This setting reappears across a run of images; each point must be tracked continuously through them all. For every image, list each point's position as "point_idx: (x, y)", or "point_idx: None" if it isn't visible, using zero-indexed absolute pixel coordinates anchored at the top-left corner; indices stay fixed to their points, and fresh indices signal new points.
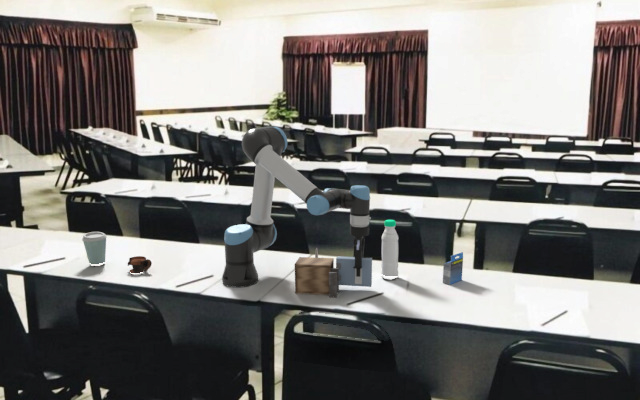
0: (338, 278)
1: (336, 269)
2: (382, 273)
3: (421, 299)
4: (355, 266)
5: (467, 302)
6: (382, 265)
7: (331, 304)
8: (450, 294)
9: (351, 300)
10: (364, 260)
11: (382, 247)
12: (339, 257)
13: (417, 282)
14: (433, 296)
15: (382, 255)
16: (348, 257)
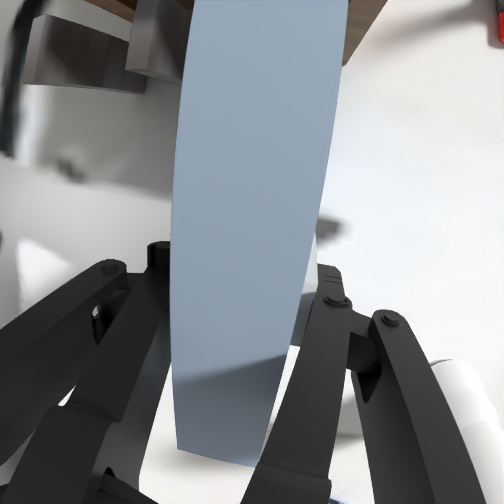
0: (172, 82)
1: (132, 49)
2: (445, 378)
3: (161, 431)
4: (91, 274)
5: (162, 487)
6: (458, 411)
7: (55, 86)
8: (218, 487)
9: (101, 177)
10: (177, 401)
11: (490, 500)
12: (260, 37)
13: (350, 457)
14: (196, 460)
15: (476, 457)
16: (271, 216)
